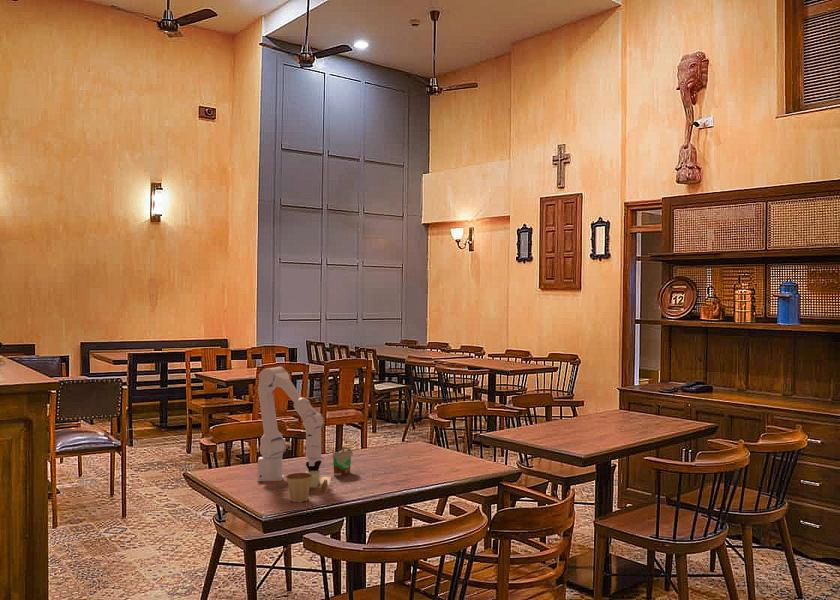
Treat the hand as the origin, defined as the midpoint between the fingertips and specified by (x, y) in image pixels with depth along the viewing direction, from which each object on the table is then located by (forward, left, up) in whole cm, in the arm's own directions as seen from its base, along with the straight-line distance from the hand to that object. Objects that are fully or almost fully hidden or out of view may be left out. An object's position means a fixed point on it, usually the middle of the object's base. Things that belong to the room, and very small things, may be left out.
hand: (313, 480), depth 268 cm
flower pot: (-3, -21, -2) cm, 21 cm away
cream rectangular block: (0, -7, -1) cm, 7 cm away
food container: (+11, +14, -2) cm, 18 cm away
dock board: (0, -2, -1) cm, 2 cm away
